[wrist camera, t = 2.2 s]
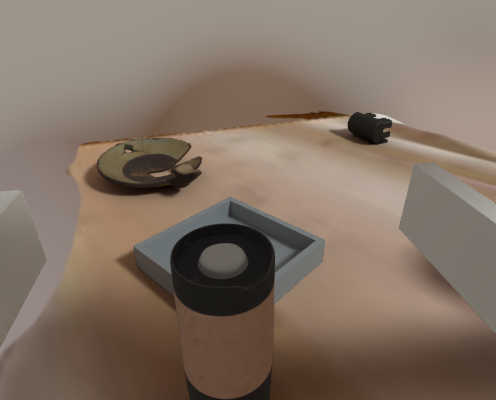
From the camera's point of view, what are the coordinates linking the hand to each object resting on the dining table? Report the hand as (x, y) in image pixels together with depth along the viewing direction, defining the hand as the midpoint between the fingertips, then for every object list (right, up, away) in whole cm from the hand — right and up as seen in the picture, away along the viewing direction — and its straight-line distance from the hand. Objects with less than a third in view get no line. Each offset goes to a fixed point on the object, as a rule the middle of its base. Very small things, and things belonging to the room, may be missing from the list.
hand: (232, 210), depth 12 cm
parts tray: (-2, -10, +42) cm, 44 cm away
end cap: (+34, +17, +90) cm, 98 cm away
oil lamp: (-20, +4, +68) cm, 71 cm away
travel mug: (-1, -21, +23) cm, 31 cm away
